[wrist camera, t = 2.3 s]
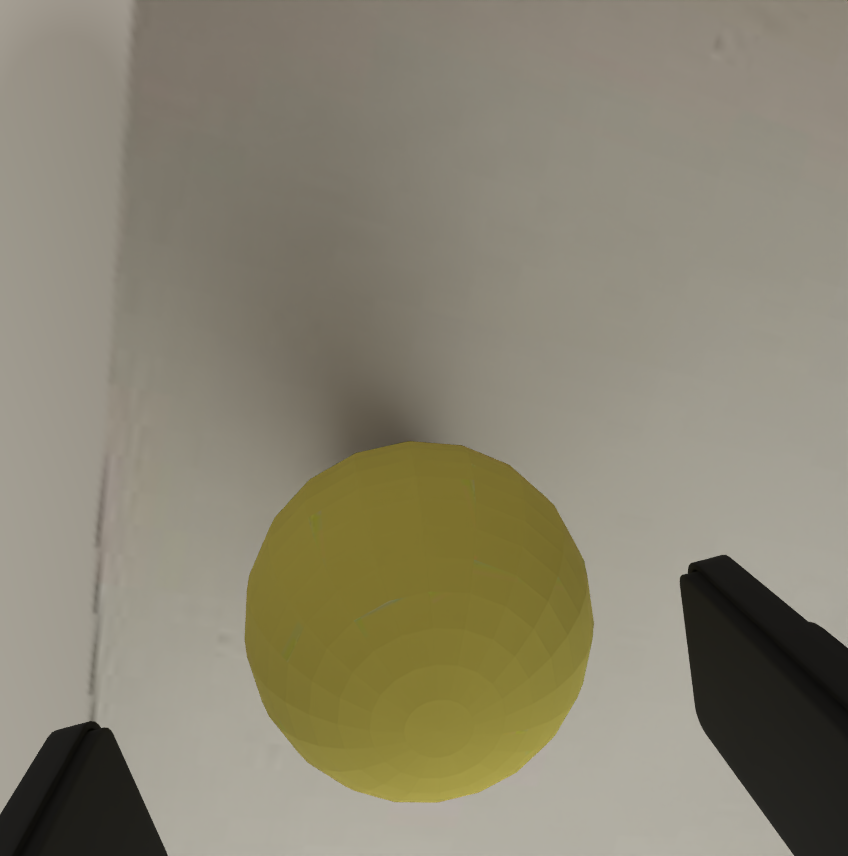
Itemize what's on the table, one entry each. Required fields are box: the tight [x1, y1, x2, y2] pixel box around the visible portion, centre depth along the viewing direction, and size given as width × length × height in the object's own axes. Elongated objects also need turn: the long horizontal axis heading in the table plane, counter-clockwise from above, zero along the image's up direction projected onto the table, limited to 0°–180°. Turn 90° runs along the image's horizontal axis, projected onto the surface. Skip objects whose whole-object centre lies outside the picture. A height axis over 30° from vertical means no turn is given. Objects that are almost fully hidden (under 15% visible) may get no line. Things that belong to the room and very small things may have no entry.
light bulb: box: [245, 441, 594, 802], centre depth 14 cm, size 7×7×10 cm
